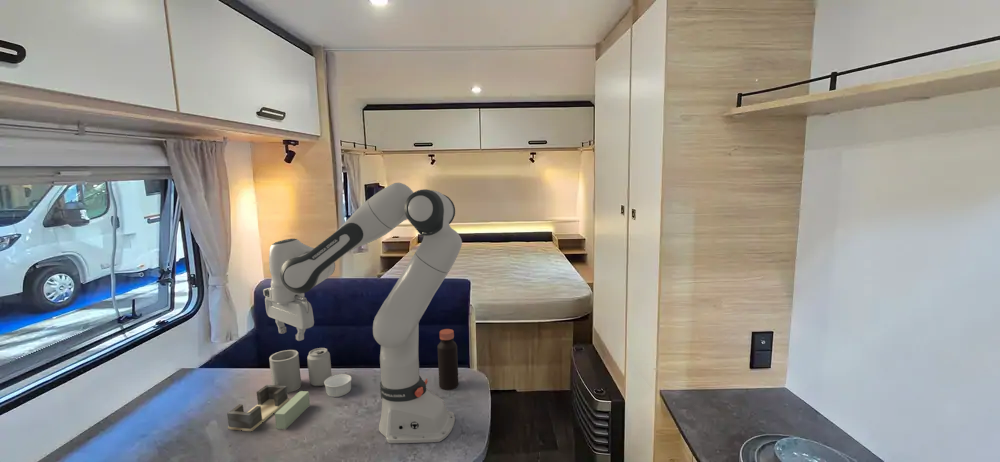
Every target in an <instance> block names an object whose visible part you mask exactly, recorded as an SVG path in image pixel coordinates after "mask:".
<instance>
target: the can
mask: <svg viewBox="0 0 1000 462" xmlns="http://www.w3.org/2000/svg"><path fill="white" fill-rule="evenodd" d="M306 359H307V360H306V361H307V369H308V379H309V380H308V381H309V384H310V385H312V386H314V387H323V386H325V385H324V381H325V380H326V379H327V378H329V377H331V376H333V375H332V364H331V363H332V362H331V354H330V352H329V351H328V348H325V347H319V348H318V347H317V348H314V349H312V350H310V351H309V352H308V355H307V358H306Z"/></svg>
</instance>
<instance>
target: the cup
mask: <svg viewBox="0 0 1000 462" xmlns="http://www.w3.org/2000/svg"><path fill="white" fill-rule="evenodd" d="M268 360H269V368H270V369H269V370H270V378H271V385H277V386H287V394H290V393H293V392H294V391H297V390H298V389H299V388H301V386H302V377H301V368H300V357H299V352H298V351H297V350H296V349H287V350H286V349H285V350H280V351H278V352H275V353H272V354H271V355H270V356H269V358H268Z"/></svg>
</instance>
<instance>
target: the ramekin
mask: <svg viewBox="0 0 1000 462" xmlns="http://www.w3.org/2000/svg"><path fill="white" fill-rule="evenodd" d="M323 386H325V392H326V395H327V396H328V397H332V398H338V397H343V396H345V395H347V394H348V393H350V392H351V389H352V376H351V375H350V374H345V373H340V374H339V373H338V374H335V375H332V376H331V377H329V378H327V379H326V380H325V381H324V385H323Z"/></svg>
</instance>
